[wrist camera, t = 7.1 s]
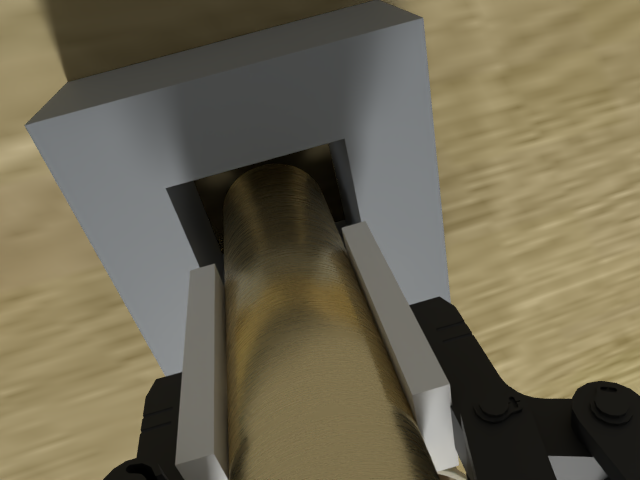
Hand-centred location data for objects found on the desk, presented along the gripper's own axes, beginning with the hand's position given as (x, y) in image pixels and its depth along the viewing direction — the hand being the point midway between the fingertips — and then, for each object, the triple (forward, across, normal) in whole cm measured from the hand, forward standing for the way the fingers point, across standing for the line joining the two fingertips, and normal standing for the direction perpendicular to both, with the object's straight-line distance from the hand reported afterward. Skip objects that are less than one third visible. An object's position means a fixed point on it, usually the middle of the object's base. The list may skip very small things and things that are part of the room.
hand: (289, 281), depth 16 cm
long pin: (+5, 0, 0) cm, 5 cm away
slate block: (+8, 0, 0) cm, 8 cm away
